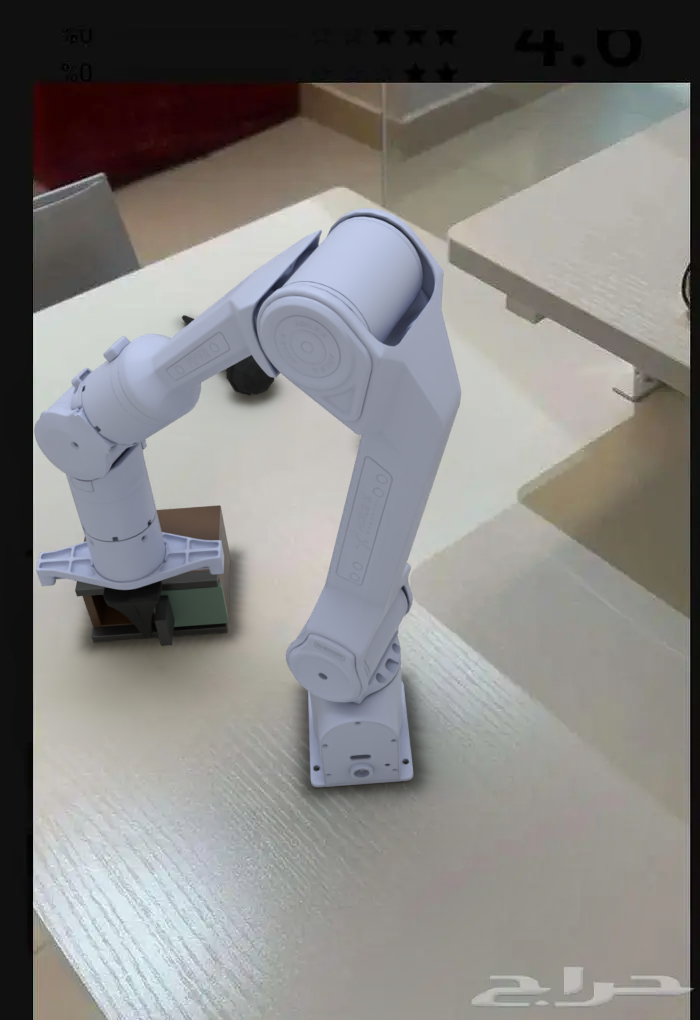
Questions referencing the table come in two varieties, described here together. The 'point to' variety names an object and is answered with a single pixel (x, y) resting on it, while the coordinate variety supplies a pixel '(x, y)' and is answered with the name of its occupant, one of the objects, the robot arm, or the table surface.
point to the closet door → (189, 610)
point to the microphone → (245, 374)
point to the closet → (178, 522)
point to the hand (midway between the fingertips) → (149, 629)
